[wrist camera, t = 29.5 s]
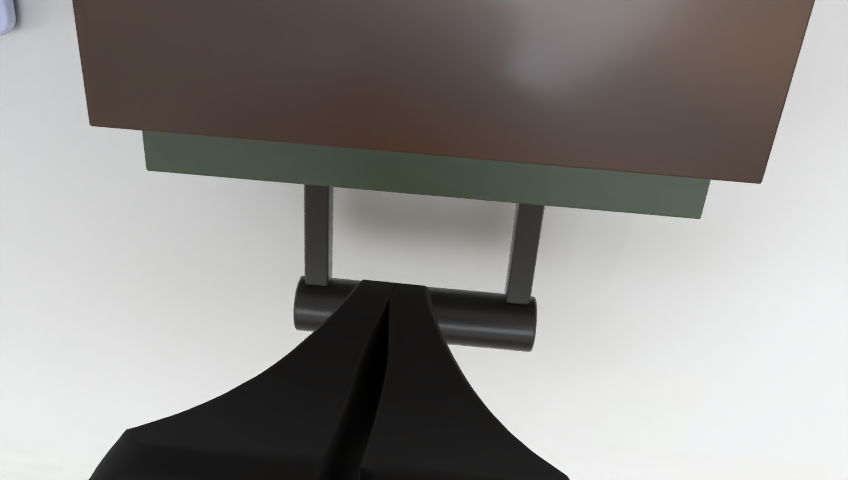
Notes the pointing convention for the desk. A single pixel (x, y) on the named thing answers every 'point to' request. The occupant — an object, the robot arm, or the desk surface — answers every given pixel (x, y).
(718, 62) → the cabinet
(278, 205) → the desk surface
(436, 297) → the drawer
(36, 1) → the desk surface
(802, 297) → the desk surface
